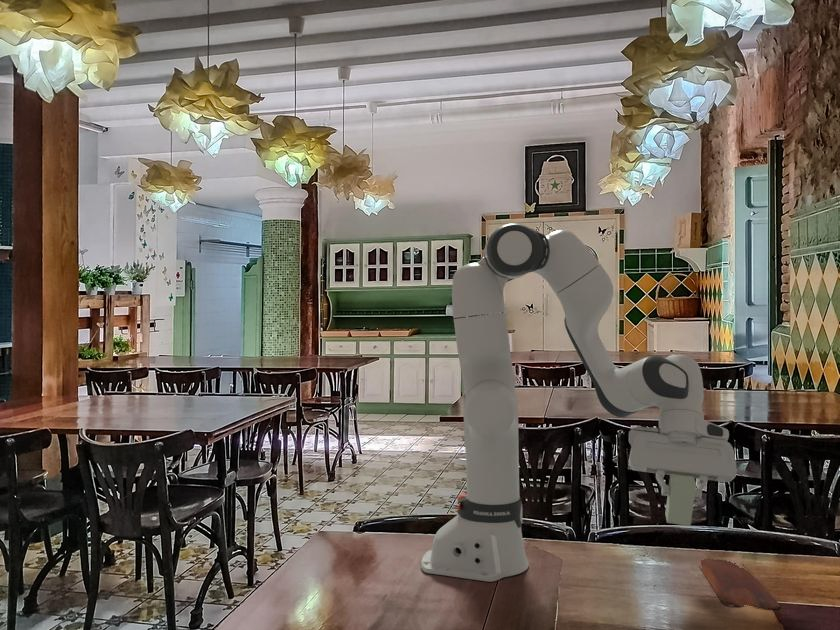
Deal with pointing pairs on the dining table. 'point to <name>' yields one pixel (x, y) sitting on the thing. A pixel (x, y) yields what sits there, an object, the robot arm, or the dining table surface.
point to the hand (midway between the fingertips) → (681, 497)
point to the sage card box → (680, 499)
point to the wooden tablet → (737, 585)
